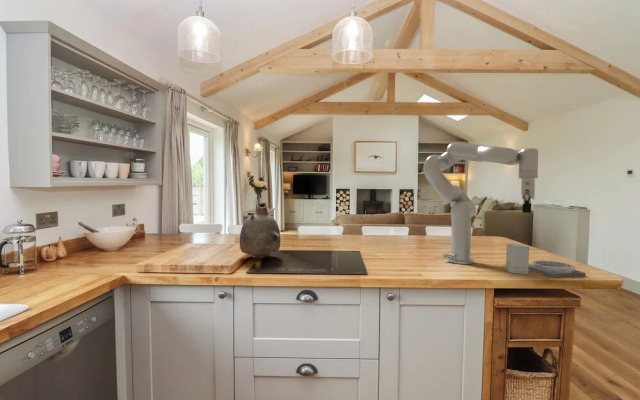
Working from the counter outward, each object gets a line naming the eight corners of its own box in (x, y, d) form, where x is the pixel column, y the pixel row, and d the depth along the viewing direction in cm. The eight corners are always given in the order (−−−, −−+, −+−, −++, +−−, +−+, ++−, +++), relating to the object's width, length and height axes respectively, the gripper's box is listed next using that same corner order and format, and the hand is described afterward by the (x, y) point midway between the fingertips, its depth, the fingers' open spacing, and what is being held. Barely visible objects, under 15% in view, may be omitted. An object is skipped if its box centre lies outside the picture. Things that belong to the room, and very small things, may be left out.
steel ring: (551, 273, 147) (552, 269, 147) (524, 264, 163) (524, 260, 163) (584, 272, 149) (584, 268, 149) (553, 263, 165) (553, 259, 165)
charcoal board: (551, 277, 146) (551, 274, 146) (522, 267, 163) (522, 264, 163) (585, 276, 149) (585, 272, 149) (553, 266, 166) (553, 263, 166)
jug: (230, 262, 170) (230, 203, 169) (246, 253, 191) (246, 201, 190) (276, 264, 166) (276, 204, 165) (287, 255, 187) (288, 202, 186)
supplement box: (528, 274, 151) (529, 246, 151) (510, 273, 153) (511, 246, 152) (522, 270, 158) (523, 243, 158) (505, 269, 160) (506, 243, 159)
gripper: (537, 174, 146) (536, 213, 147) (537, 175, 161) (536, 211, 161) (517, 174, 150) (516, 212, 151) (519, 175, 165) (518, 210, 165)
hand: (526, 211), depth 156 cm, fingers open, 9 cm apart
